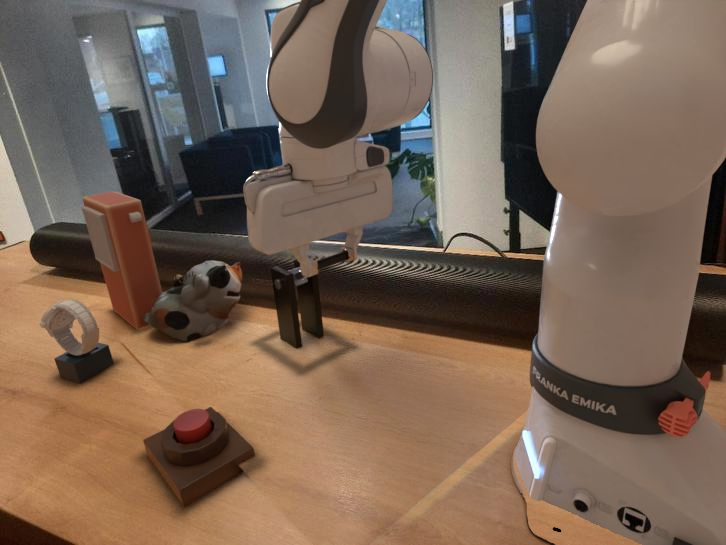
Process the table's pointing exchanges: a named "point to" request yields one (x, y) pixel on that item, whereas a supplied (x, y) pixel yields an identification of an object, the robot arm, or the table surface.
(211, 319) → the lucky cat figurine
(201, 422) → the button
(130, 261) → the control panel
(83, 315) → the watch
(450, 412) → the table surface
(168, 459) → the button box
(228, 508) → the table surface
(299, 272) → the lever
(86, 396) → the table surface
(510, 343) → the table surface
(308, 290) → the bracket
